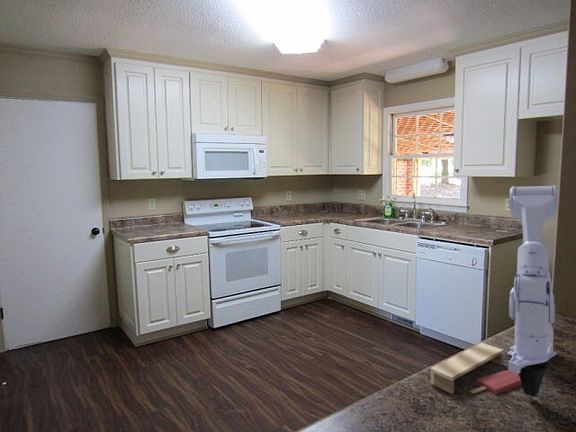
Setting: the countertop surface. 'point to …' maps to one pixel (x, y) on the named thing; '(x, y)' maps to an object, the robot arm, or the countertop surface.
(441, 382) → the rail
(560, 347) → the countertop surface
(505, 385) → the popsicle
